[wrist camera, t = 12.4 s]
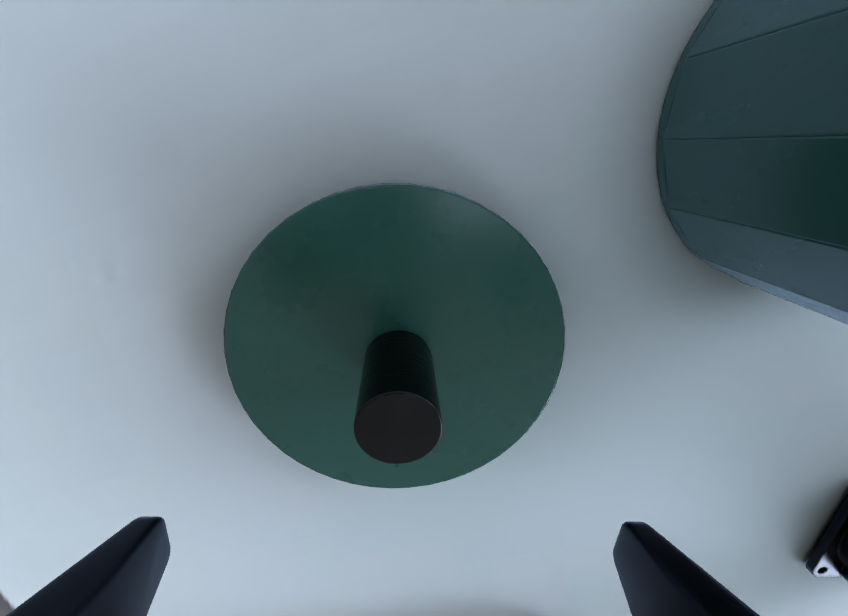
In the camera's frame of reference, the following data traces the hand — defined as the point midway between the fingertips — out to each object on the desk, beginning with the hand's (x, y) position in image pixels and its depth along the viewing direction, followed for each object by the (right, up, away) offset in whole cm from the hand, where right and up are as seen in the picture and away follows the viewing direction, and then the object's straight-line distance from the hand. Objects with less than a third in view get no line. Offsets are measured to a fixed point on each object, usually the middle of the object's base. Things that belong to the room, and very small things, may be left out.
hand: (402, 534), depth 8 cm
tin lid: (0, +3, +7) cm, 8 cm away
